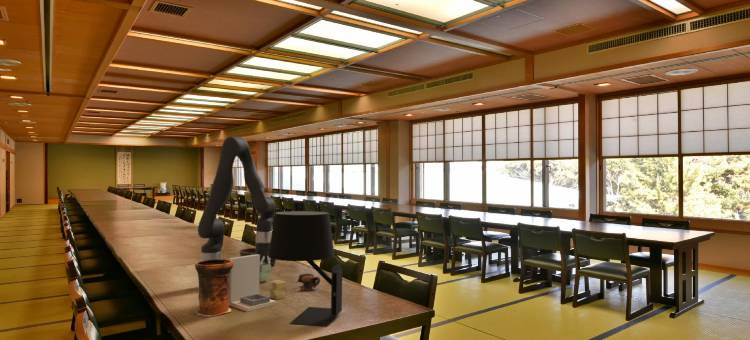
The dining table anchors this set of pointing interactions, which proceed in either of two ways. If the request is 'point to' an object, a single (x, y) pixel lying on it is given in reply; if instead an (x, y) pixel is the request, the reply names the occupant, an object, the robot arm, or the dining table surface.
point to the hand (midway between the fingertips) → (262, 277)
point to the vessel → (213, 286)
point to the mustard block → (278, 289)
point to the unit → (246, 284)
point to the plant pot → (246, 253)
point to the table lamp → (308, 256)
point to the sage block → (265, 272)
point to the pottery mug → (308, 281)
